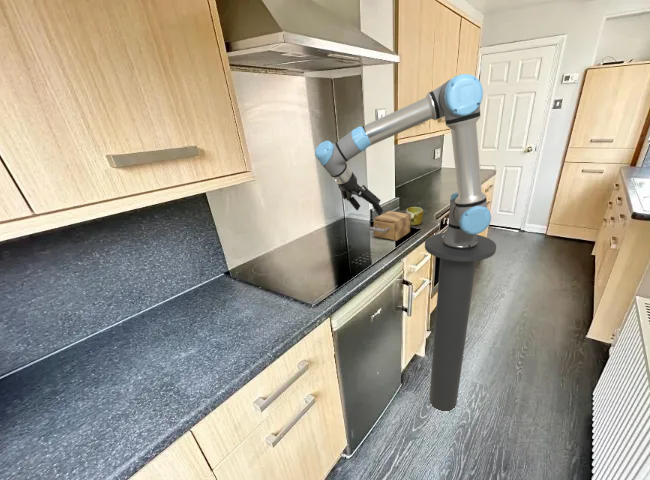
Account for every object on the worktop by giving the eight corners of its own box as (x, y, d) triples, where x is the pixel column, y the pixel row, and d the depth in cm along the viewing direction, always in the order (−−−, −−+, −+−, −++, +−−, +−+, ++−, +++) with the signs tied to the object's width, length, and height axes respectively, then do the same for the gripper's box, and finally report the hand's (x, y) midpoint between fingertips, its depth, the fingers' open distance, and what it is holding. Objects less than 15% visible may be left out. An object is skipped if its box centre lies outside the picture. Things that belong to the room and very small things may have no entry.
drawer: (387, 244, 148) (387, 227, 144) (367, 240, 153) (366, 224, 150) (406, 231, 162) (407, 216, 158) (387, 228, 168) (387, 214, 164)
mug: (407, 216, 183) (411, 201, 176) (423, 223, 180) (428, 208, 173) (398, 226, 175) (402, 210, 168) (414, 233, 172) (419, 218, 165)
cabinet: (396, 240, 154) (396, 221, 149) (374, 236, 160) (374, 218, 155) (410, 232, 164) (410, 213, 160) (389, 228, 171) (388, 210, 166)
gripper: (319, 181, 131) (345, 212, 148) (362, 188, 116) (387, 222, 133) (328, 167, 132) (353, 199, 149) (372, 172, 117) (395, 207, 134)
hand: (369, 210), depth 141 cm, fingers open, 13 cm apart
